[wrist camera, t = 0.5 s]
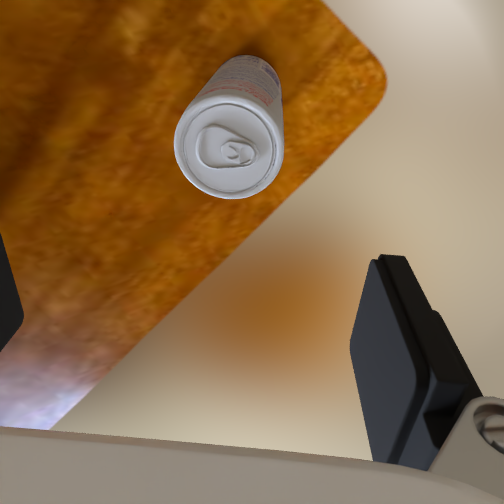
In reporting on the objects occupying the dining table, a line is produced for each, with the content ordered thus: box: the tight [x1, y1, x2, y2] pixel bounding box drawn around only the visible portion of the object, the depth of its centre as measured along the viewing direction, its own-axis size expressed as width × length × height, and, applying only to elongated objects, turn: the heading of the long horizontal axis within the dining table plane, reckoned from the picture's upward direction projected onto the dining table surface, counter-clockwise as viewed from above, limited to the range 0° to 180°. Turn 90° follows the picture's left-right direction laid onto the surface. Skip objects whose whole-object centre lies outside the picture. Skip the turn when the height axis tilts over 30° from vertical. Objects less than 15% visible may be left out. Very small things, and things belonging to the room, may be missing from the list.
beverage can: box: [174, 55, 284, 199], centre depth 27 cm, size 6×6×15 cm
